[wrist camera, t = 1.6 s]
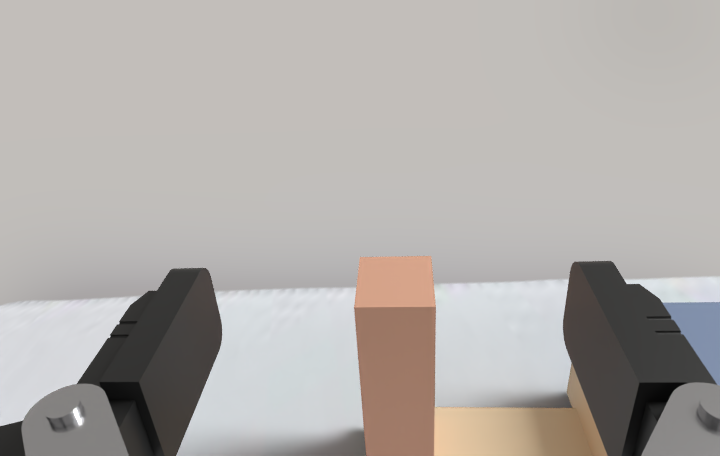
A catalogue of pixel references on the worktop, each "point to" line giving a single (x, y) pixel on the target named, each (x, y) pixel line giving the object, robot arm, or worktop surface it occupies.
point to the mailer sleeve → (700, 331)
